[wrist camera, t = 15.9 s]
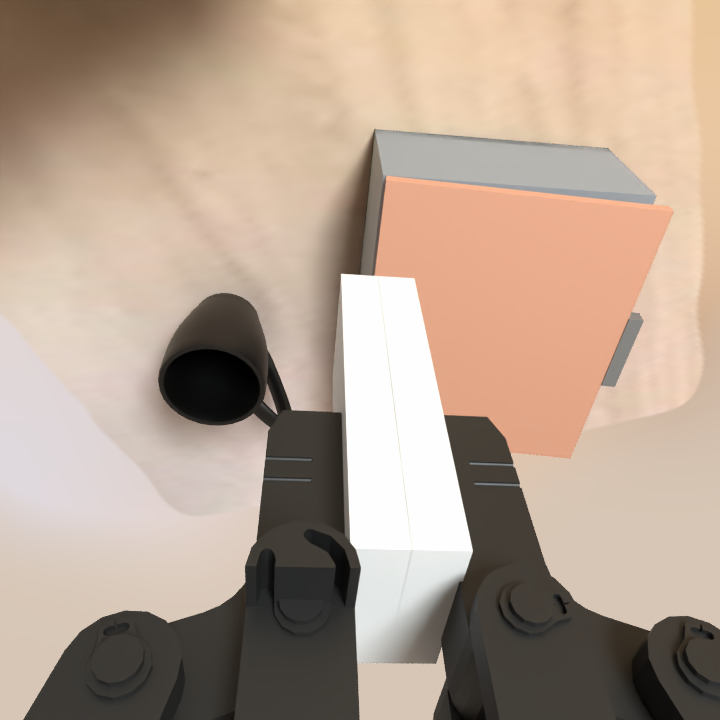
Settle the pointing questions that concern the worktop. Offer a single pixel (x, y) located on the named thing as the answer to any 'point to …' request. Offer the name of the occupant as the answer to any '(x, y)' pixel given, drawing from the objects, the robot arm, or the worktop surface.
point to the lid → (521, 298)
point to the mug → (221, 365)
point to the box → (493, 171)
